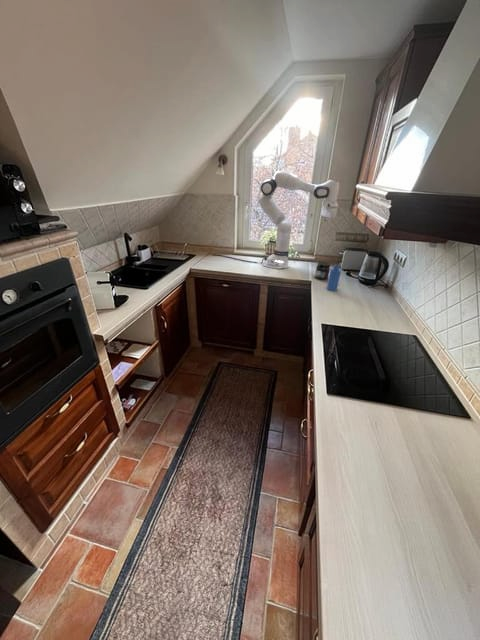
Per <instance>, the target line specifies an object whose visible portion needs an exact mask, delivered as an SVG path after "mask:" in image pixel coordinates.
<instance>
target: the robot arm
mask: <svg viewBox="0 0 480 640" xmlns="http://www.w3.org/2000/svg"><path fill="white" fill-rule="evenodd" d="M277 188H282V189H285V190H288V191H304V192H306V193H310V194H311V195H313V196H314V198H315V199H317V200H321V199H324V200H323V205H322V208H321V213H320V215H321V216H322V222H323V223H326V222H327V225H331V223H332V221H333V219H336V217H337V212H338V208H339V204H338V202H337V200H338V195H339V190H340V183H339V181H338V180H335V179H329V180H327V181H325V182H323V183H318V184H314V183H311V182H308V181H305V180H303V179H302V178H300V176H297V175H296V174H294V173H293V172H292V173H291V172H289V171H283V170H277V171H276V172H275V173H274V175H273V177H272V178H268V179H265V180H264V181H263V182H261V185H260V192H261V193H262V195H261V196H260V197H259V200H258V203H259V206H260V208H261V209H262V210H263V213H265V215H266V217H268V219H269V220H270V221H271V222H272V223H273V224H274V225H275V226H276V228H277V229H276V244H275V248H274V249H273V251H272V253H271V255H269V256H265V257H264V258H262V259H261V262H260V264H263V267H267V268H272V269H276V270H281V269H287V268H289V266H290V265H289V255H290V241H291V234H292V233H291V232H292V222H291V220H290V219H289V218H288V216H286V214H285V213H284V212H283V210H282V209H281V208H280V207H279V205H278V204H277V203H276V201H275V199H274V198H273V195H274V193H275V192H276V190H277ZM327 218H328V220H327ZM211 256H216V257H217V256H218V257H225V258H229V259H233V260H238V261H242V262H248V263H254V264H258V262H256V261H249V260H245V259H240V258H235V257H232V256H228V255H221V254H213V253H212V254H211Z"/></svg>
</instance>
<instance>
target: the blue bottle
mask: <svg viewBox="0 0 480 640" xmlns="http://www.w3.org/2000/svg"><path fill="white" fill-rule="evenodd" d="M340 266H341V265H340V264H337V263H335V264H334V265H333V268H330V271H329V276H328V279H327V280H328V281H327V285H326V290H327V291H330V292H336V291H337V290H338V286H339V282H340V278H341V271H342V270H340Z"/></svg>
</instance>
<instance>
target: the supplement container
mask: <svg viewBox="0 0 480 640" xmlns="http://www.w3.org/2000/svg"><path fill="white" fill-rule="evenodd" d="M316 265H317V266H316V268H315V273H314V278H315V279H317V280H318V281H319V280H320V281H326V280H329V275H330V271H331V263H330V262H327V261H318V262H317V263H316Z"/></svg>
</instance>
